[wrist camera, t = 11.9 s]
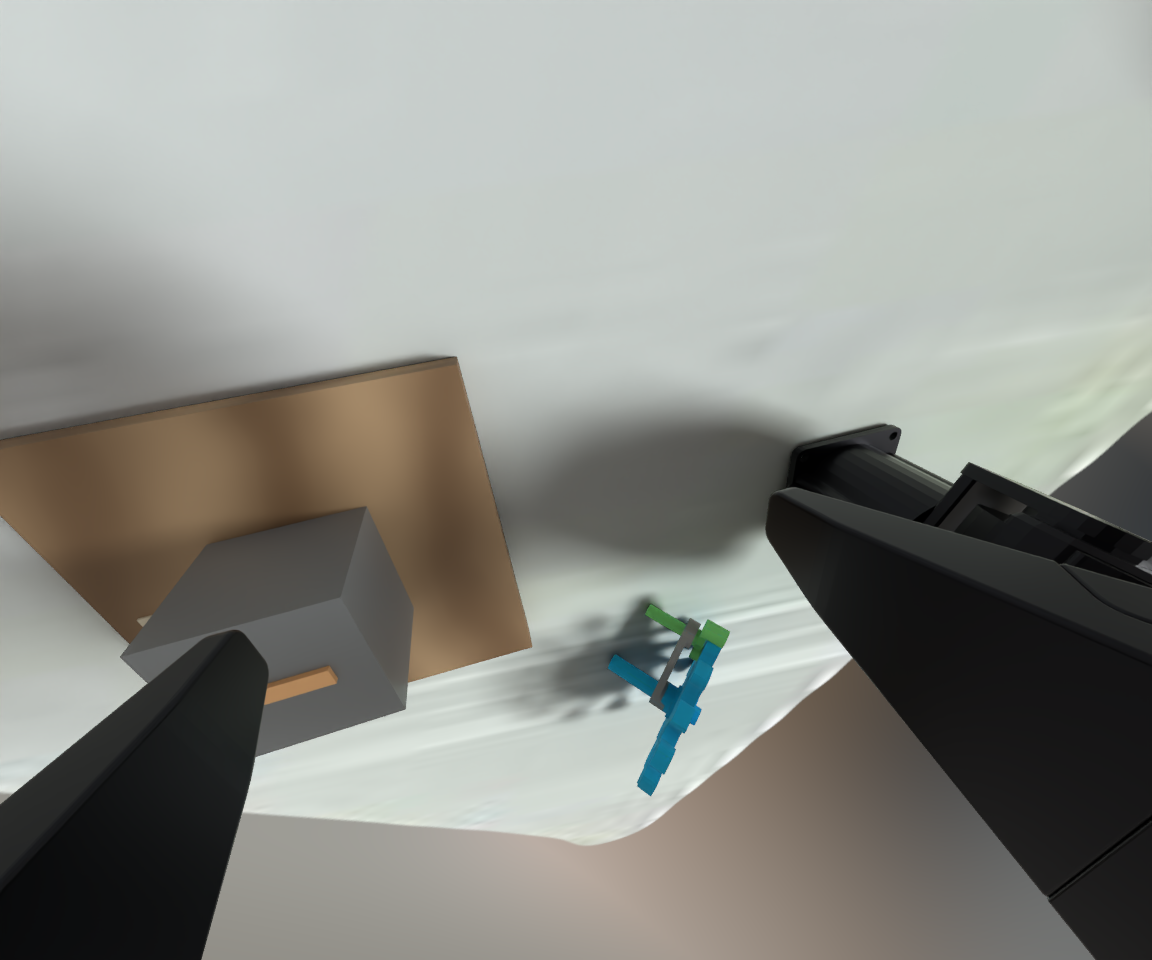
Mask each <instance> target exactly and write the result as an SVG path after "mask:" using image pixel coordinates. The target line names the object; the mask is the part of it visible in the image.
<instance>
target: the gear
mask: <svg viewBox="0 0 1152 960" xmlns="http://www.w3.org/2000/svg"><path fill="white" fill-rule="evenodd" d="M645 615H646V616H648V617H650V618H651V619H653V620H655V621H656V622H658V623H660V624H661V625H663V626H665V627H667V628H668V629H670V630H672V631H673V632H675V633H677V634H678V635H680V636H681V637H680V639H679V641H678V643H677V645H676V647H675V649H674V651H673V653H672V655H671V657H670V659H669V661H668V663H667V665H666V667H665V670H664V672H663V674H662V676H661V678H660V680H659V682H658V681H657V680H655V679H654V678H652V677H651V676H649V675H648V674H646V673H644V672H643V671H641V670H640V669H638V668H637V667H635V666H634V665H632V664H630V663H629V662H627V661H626V660H624V659H623V658H621V657H620V656H618V655H616V654H615V655H614V657H613V658H612V660H611V662H610V664H609V666H608V669H609V670H611V671H612V672H614V673H615V674H617V675H618V676H620V677H621V678H623V679H624V680H626V681H627V682H629V683H630V684H632V685H634V686H635V687H637V688H638V689H640V690H641V691H643V692H644V693H646V694H647V695H649V696H650V697H651V698H650V700H649V702H650V703H651V704H653V705H654V706H656V707H657V708H659V709H660V710H662V711H663V712H665V713H666V715H665V717H666V719H665V721H664V723H663V725H662V727H661V729H660V731H659V733H658V736H657V740H656V742H655V744H654V746H653V748H652V749H651V751H650V753H649V755H648V758H647V760H646V762H645V765H644V769H643V771H642V773H641V775H640V777H639V779H638V781H637V783H638V785H637V786H638V787H639V788H640V789H642V790H643V791H644V792H646V793H647V794H648V795H650V796H651V795H652V794H653V792H654V790H655V788H656V786H657V784H658V782H659V780H660V777H661V774H662V773H663V774H665V772H666V770H667V768H668V766H669V764H670V762H671V760H672V758H673V755H674V753H675V750H676V749H675V748H674V747H675V745H676V743H677V741H678V738H679V737H680V735H681V733H682V732H683V733H685V732H686V730H687V728H688V726H689V724H690V723H691V724H692V725H695V723H696V721H697V719H698V717H699V715H700V712H701V709H700V708H699V707H697V706H696V704H697V702H698V699H699V697H700V695H701V693H702V692H703V690H704V689H705V687H706V685H707V683H708V681H709V679H710V676H711V674H712V671H713V667H712V666H713V664H714V662H715V660H716V658H717V656H718V655H719V652H720V650H721V648H723V646H724V644H725V642H726V640H727V638H728V636H729V633H730V631H728V630H726V629H724V628H723V627H721V626H719V625H717V624H715V623H714V622H712V621H710V620H707V622H706V624H705V626H704V628H703V630H702V631H701V630H699V627H700V625H701V624H700V623H698V622H696V621H694V620H693V619H691V618H690V619H689V621H688V622H687V624H684V623H683V622H681V621H679V620H677V619H676V618H674V617H672V616H670V615H669V614H667V613H665V612H663V611H662V610H660V609H658V608H656V607H655V606H653V605H651V604H650V606H649V608H648V609H647V611H646V614H645ZM691 645H693V646H694V647H693V649H692V651H691V653H690V655H689V657H690V658H691V659H693V660H694V661H693V663H692V665H691V667H690V669H689V671H688V673H687V675H686V676H687V677H686V679H685V681H684V683H683V685H682V686H681V685H680V686H679V688H677V687H676V686H674V685H673V684H671V683H669V682H668V681H667V680H668V678H669V676H670V674H671V672H672V670H673V668H674V666H675V664H676V662H677V660H678V658H679V656H680V654H681V652H682V650H683V648H684V647H685V648H687V649H689V648H690V646H691Z"/></svg>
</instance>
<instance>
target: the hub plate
mask: <svg viewBox="0 0 1152 960" xmlns="http://www.w3.org/2000/svg"><path fill="white" fill-rule="evenodd" d="M365 506H367V508H368V510H369V512H370V514H371V516H372V519H373V521H374V523H375V525H376V527H377V529H378V532H379V534H380V536H381V538H382V540H383V542H384V544H385V547H386V549H387V551H388V553H389V555H390V557H391V560H392V562H393V564H394V566H395V568H396V570H397V572H398V575H399V577H400V579H401V581H402V583H403V585H404V587H405V590H406V592H407V594H408V596H409V598H410V600H411V603H412V605H413V607H414V612H413V624H412V637H411V649H410V661H409V674H408V683H409V682H412V681H416V680H419V679H423V678H426V677H430V676H433V675H437V674H440V673H444V672H447V671H450V670H454V669H457V668H461V667H464V666H468V665H471V664H475V663H478V662H482V661H485V660H489V659H492V658H496V657H499V656H503V655H506V654H510V653H513V652H517V651H520V650H524V649H527V648H531V647H532V643H531V638H530V632H529V628H528V624H527V620H526V617H525V613H524V609H523V605H522V602H521V598H520V594H519V590H518V586H517V583H516V579H515V575H514V571H513V567H512V564H511V560H510V556H509V552H508V549H507V545H506V541H505V537H504V533H503V530H502V526H501V522H500V518H499V514H498V511H497V507H496V503H495V499H494V496H493V492H492V488H491V484H490V480H489V477H488V473H487V469H486V465H485V461H484V458H483V454H482V450H481V446H480V443H479V439H478V435H477V431H476V427H475V424H474V420H473V416H472V412H471V408H470V405H469V401H468V397H467V393H466V390H465V386H464V382H463V378H462V374H461V371H460V367H459V363H458V359H457V357H452V358H447V359H441V360H436V361H430V362H425V363H419V364H414V365H408V366H403V367H397V368H392V369H386V370H381V371H375V372H370V373H364V374H359V375H353V376H348V377H343V378H337V379H332V380H326V381H321V382H315V383H310V384H304V385H299V386H293V387H288V388H282V389H277V390H271V391H266V392H260V393H255V394H249V395H244V396H239V397H233V398H228V399H222V400H217V401H211V402H206V403H200V404H195V405H189V406H184V407H178V408H173V409H167V410H162V411H156V412H151V413H145V414H140V415H135V416H129V417H124V418H118V419H113V420H107V421H102V422H96V423H91V424H85V425H80V426H74V427H69V428H63V429H58V430H52V431H47V432H41V433H36V434H30V435H25V436H20V437H14V438H9V439H3V440H0V516H1V517H2V518H3V519H4V520H5V521H6V522H7V523H8V524H9V525H10V526H11V527H12V528H13V529H14V530H15V531H16V532H17V533H18V534H19V535H20V536H21V537H22V538H23V539H24V540H25V541H26V542H27V543H28V544H29V545H30V546H31V547H32V548H33V549H34V550H35V551H36V552H37V553H38V554H39V555H40V556H41V557H43V558H44V559H45V560H46V561H47V562H48V563H49V564H50V565H51V566H52V567H53V568H54V569H55V570H56V571H57V572H58V573H59V574H60V575H61V576H62V577H63V578H64V579H65V580H66V581H67V582H68V583H69V584H70V585H71V586H72V587H73V588H74V589H75V590H76V591H77V592H78V593H79V594H80V595H81V596H82V597H83V598H84V599H85V600H86V601H87V602H88V603H89V604H90V605H91V606H92V607H93V608H94V609H95V610H96V611H97V612H98V613H99V614H100V615H101V616H102V617H103V618H104V619H105V620H106V621H107V622H108V623H109V624H110V625H111V626H112V627H113V628H114V629H115V630H116V631H117V632H118V633H119V634H120V635H121V636H122V637H123V638H124V639H125V640H126V641H127V642H128V643H129V644H130V643H131V642H132V641H133V639H134V638H135V637H136V636H137V634H138V633H139V632H140V630H141V629H142V628H143V626H144V625H145V624H146V623H147V621H148V620H149V619H150V617H151V616H152V615H153V613H154V612H155V611H156V610H157V608H158V607H159V606H160V604H161V603H162V602H163V600H164V599H165V598H166V597H167V595H168V594H169V593H170V591H171V590H172V589H173V587H174V586H175V585H176V584H177V582H178V581H179V580H180V578H181V577H182V576H183V574H184V573H185V572H186V571H187V569H188V568H189V567H190V565H191V564H192V563H193V561H194V560H195V559H196V558H197V556H198V555H199V554H200V552H201V551H202V550H203V548H204V547H205V546H206V545H207V544H211V543H215V542H220V541H224V540H228V539H232V538H236V537H240V536H244V535H249V534H253V533H257V532H261V531H265V530H269V529H273V528H278V527H282V526H286V525H290V524H294V523H298V522H302V521H307V520H311V519H315V518H319V517H323V516H327V515H331V514H336V513H340V512H344V511H348V510H352V509H356V508H360V507H365Z"/></svg>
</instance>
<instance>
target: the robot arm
mask: <svg viewBox="0 0 1152 960" xmlns="http://www.w3.org/2000/svg"><path fill="white" fill-rule="evenodd" d="M900 436H901V429H900V428H898V427H896V426H893V425H888V426H883V427H879V428H875V429H871V430H867V431H863V432H858V433H854V434H850V435H846V436H842V437H838V438H833V439H829V440H825V441H821V442H817V443H813V444H808V445H804V446H800V447H798V448H797V449H795V450H794V452H793V453H792V456H791V461H790V467H789V474H788V480H787V486H786V489H783V490H779V491H776V492H774V493H772V494H771V496H770V498H769V504H768V512H767V519H766V526H765V530H766V535H767V538H768V540H769V542H770V543H771V545H772V546H773V548H774V550H775V551H776V553H777V554H778V556H779V557H780V559H781V560H782V562H783V563H784V565H785V566H786V568H787V569H788V571H789V573H790V574H791V576H792V577H793V579H794V580H795V582H796V583H797V585H798V586H799V588H800V589H801V591H802V592H803V594H804V595H805V597H806V598H807V600H808V601H809V603H810V604H811V606H812V607H813V608H814V610H815V611H816V612H817V614H818V615H819V616H820V618H821V619H822V620H823V622H824V623H825V624H826V625H827V626H828V628H829V629H830V630H831V631H832V633H833V634H834V635H835V636H836V638H837V639H838V640H839V641H840V643H841V644H842V645H843V646H844V648H845V649H846V650H847V651H848V653H849V654H850V655H851V656H852V657H853V659H854V660H855V661H856V662H857V664H858V665H859V666H860V667H861V669H862V670H863V671H864V672H865V674H866V675H867V676H868V677H869V679H870V680H871V681H872V682H873V684H874V685H875V686H876V687H877V688H878V690H879V691H880V692H881V693H882V695H883V696H884V697H885V698H886V700H887V701H888V702H889V703H890V705H891V706H892V707H893V708H894V710H895V711H896V712H897V713H898V715H899V716H900V717H901V718H902V720H903V721H904V722H905V723H906V725H907V726H908V727H909V728H910V729H911V731H912V732H913V733H914V734H915V736H916V737H917V738H918V739H919V741H920V742H921V743H922V744H923V746H924V747H925V748H926V749H927V751H928V752H929V753H930V754H931V755H932V757H933V758H934V759H935V761H936V762H937V763H938V764H939V765H940V767H941V768H942V769H943V770H944V771H945V773H946V774H947V775H948V777H949V778H950V779H951V780H952V782H953V783H954V784H955V785H956V787H957V788H958V789H959V790H960V791H961V793H962V794H963V795H964V796H965V798H966V799H967V800H968V801H969V803H970V804H971V805H972V806H973V808H974V809H975V810H976V811H977V813H978V814H979V815H980V816H981V817H982V819H983V820H984V821H985V823H986V824H987V825H988V826H989V828H990V829H991V830H992V831H993V832H994V834H995V835H996V836H997V837H998V839H999V840H1000V841H1001V842H1002V844H1003V845H1004V846H1005V847H1006V849H1007V850H1008V851H1009V852H1010V854H1011V855H1012V856H1013V857H1014V859H1015V860H1016V861H1017V862H1018V863H1019V865H1020V866H1021V867H1022V868H1023V870H1024V871H1025V872H1026V873H1027V875H1028V876H1029V877H1030V878H1031V880H1032V881H1033V882H1034V883H1035V885H1036V886H1037V887H1038V888H1039V890H1040V891H1041V892H1042V893H1043V894H1044V895H1045V896H1047V899H1048V901H1049V903H1050V904H1051V905H1052V906H1053V907H1054V909H1055V910H1056V911H1057V913H1058V914H1059V915H1060V916H1061V918H1062V919H1063V920H1064V921H1065V922H1066V924H1067V925H1068V926H1069V927H1070V929H1071V930H1072V931H1073V932H1074V934H1075V935H1076V936H1077V937H1078V938H1079V940H1080V941H1081V942H1082V943H1083V945H1084V946H1085V947H1086V949H1087V950H1088V951H1089V952H1090V953H1091V955H1092V956H1093V957H1094V958H1095V960H1152V542H1151V541H1148V540H1146V539H1144V538H1142V537H1140V536H1138V535H1135V534H1133V533H1131V532H1129V531H1127V530H1124V529H1122V528H1120V527H1117V526H1116V525H1113V524H1111V523H1109V522H1107V521H1105V520H1103V519H1100V518H1098V517H1096V516H1094V515H1091V514H1089V513H1087V512H1085V511H1083V510H1080V509H1078V508H1076V507H1074V506H1071V505H1069V504H1067V503H1064V502H1062V501H1060V500H1058V499H1055V498H1053V497H1051V496H1048V495H1046V494H1044V493H1042V492H1039V491H1037V490H1035V489H1032V488H1030V487H1028V486H1025V485H1023V484H1021V483H1018V482H1016V481H1013V480H1011V479H1009V478H1006V477H1004V476H1001V475H999V474H997V473H994V472H992V471H989V470H987V469H984V468H982V467H980V466H977V465H975V464H972V463H970V462H968V464H967V465H966V466H965V467H964V468H963V470H962V471H961V472H960V473H962V475H961V476H960V477H959V478H958V480H957V481H956V482H955V483H954V484H953V483H951V482H949V481H947V480H945V479H943V478H941V477H939V476H937V475H935V474H933V473H931V472H929V471H927V470H925V469H923V468H921V467H919V466H917V465H915V464H913V463H911V462H909V461H907V460H905V459H903V458H901V457H899V456H897V455H895V453H896V449H897V446H898V443H899V439H900ZM802 455H803V456H802ZM801 456H802V457H801ZM268 679H269V669H268V665H267V663H266V661H265V659H264V658H263V657H262V655H261V654H260V653H259V652H258V650H257V649H256V648H255V646H254V645H253V644H252V643H251V641H250V640H249V639H248V637H247V636H246V635H245V634H244V633H243V632H241V631H239V630H229V631H225V632H221V633H217V634H213V635H210V636H207V637H205V638H203V639H202V640H200V641H199V642H198V643H197V644H196V645H194V646H193V647H192V648H191V649H189V650H188V651H187V652H186V653H185V654H183V655H182V656H181V657H180V658H178V659H177V660H176V661H175V662H174V663H172V664H171V665H170V666H169V667H167V668H166V669H165V670H164V671H163V672H161V673H160V674H159V675H158V676H156V677H155V678H154V679H153V680H152V681H150V682H149V683H148V684H147V685H145V686H144V687H143V688H142V689H141V690H139V691H138V692H137V693H136V694H134V695H133V696H132V697H131V698H130V699H128V700H127V701H126V702H125V703H123V704H122V705H121V706H120V707H119V708H117V709H116V710H115V711H114V712H112V713H111V714H110V715H109V716H108V717H106V718H105V719H104V720H103V721H101V722H100V723H99V724H98V725H97V726H95V727H94V728H93V729H92V730H90V731H89V732H88V733H87V734H86V735H84V736H83V737H82V738H81V739H79V740H78V741H77V742H76V743H75V744H73V745H72V746H71V747H70V748H68V749H67V750H66V751H65V752H64V753H62V754H61V755H60V756H59V757H57V758H56V759H55V760H54V761H53V762H51V763H50V764H49V765H48V766H46V767H45V768H44V769H43V770H42V771H40V772H39V773H38V774H37V775H35V776H34V777H33V778H32V779H31V780H29V781H28V782H27V783H26V784H24V785H23V786H22V787H21V788H20V789H18V790H17V791H16V792H15V793H13V794H12V795H11V796H10V797H9V798H7V799H6V800H5V801H4V802H3V803H1V804H0V960H201V959H202V955H203V951H204V948H205V945H206V941H207V937H208V934H209V930H210V927H211V923H212V919H213V915H214V912H215V909H216V905H217V901H218V898H219V894H220V891H221V886H222V883H223V880H224V876H225V872H226V869H227V865H228V861H229V858H230V855H231V851H232V847H233V844H234V840H235V837H236V833H237V829H238V826H239V822H240V818H241V815H242V811H243V808H244V804H245V801H246V797H247V793H248V789H249V785H250V781H251V776H252V772H253V767H254V762H255V756H256V750H257V744H258V738H259V732H260V727H261V721H262V715H263V709H264V703H265V697H266V691H267V685H268Z"/></svg>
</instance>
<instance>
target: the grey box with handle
mask: <svg viewBox="0 0 1152 960" xmlns="http://www.w3.org/2000/svg"><path fill="white" fill-rule="evenodd" d="M413 612H414V607H413V605H412V603H411V600H410V598H409V596H408V594H407V592H406V590H405V587H404V585H403V583H402V581H401V579H400V577H399V575H398V572H397V570H396V568H395V566H394V564H393V562H392V560H391V557H390V555H389V553H388V551H387V549H386V547H385V544H384V542H383V540H382V538H381V536H380V534H379V532H378V529H377V527H376V525H375V523H374V521H373V519H372V516H371V514H370V512H369V510H368V508H367V506H365V507H360V508H356V509H352V510H348V511H344V512H340V513H336V514H331V515H327V516H323V517H319V518H315V519H311V520H307V521H302V522H298V523H294V524H290V525H286V526H282V527H278V528H273V529H269V530H265V531H261V532H257V533H253V534H249V535H244V536H240V537H236V538H232V539H228V540H224V541H220V542H215V543H211V544H207V545H206V546H205V547H204V548H203V550H202V551H201V552H200V554H199V555H198V556H197V558H196V559H195V560H194V561H193V563H192V564H191V565H190V567H189V568H188V569H187V571H186V572H185V573H184V574H183V576H182V577H181V578H180V580H179V581H178V582H177V584H176V585H175V586H174V587H173V589H172V590H171V591H170V593H169V594H168V595H167V597H166V598H165V599H164V600H163V602H162V603H161V604H160V606H159V607H158V608H157V610H156V611H155V612H154V613H153V615H152V616H151V617H150V619H149V620H148V621H147V623H146V624H145V625H144V626H143V628H142V629H141V630H140V632H139V633H138V634H137V636H136V637H135V638H134V639H133V641H132V642H131V643H130V645H129V646H128V647H127V649H126V650H125V651H124V652H123V654H122V655H121V656H120V658H121V659H122V660H123V661H124V662H126V663H127V664H128V665H129V666H130V667H131V668H132V669H133V670H134V671H135V672H136V673H137V674H138V675H139V676H140V677H142V678H143V679H144V680H145V681H146V682H147V683H149V682H150V681H152V680H153V679H154V678H155V677H156V676H158V675H159V674H160V673H161V672H163V671H164V670H165V669H166V668H167V667H169V666H170V665H171V664H172V663H174V662H175V661H176V660H177V659H178V658H180V657H181V656H182V655H183V654H185V653H186V652H187V651H188V650H189V649H191V648H192V647H193V646H194V645H196V644H197V643H198V642H199V641H200V640H202V639H203V638H205V637H207V636H210V635H213V634H217V633H221V632H225V631H229V630H239V631H241V632H243V633H244V634H245V635H246V636H247V637H248V639H249V640H250V641H251V643H252V644H253V645H254V646H255V648H256V649H257V650H258V652H259V653H260V654H261V655H262V657H263V658H264V659H265V661H266V663H267V665H268V669H269V679H268V685H267V691H266V697H265V703H264V709H263V715H262V721H261V727H260V732H259V738H258V744H257V750H256V756H255V757H257V756H260V755H263V754H267V753H270V752H273V751H276V750H279V749H282V748H285V747H289V746H292V745H295V744H298V743H301V742H304V741H307V740H311V739H314V738H317V737H320V736H323V735H326V734H330V733H333V732H336V731H339V730H342V729H345V728H348V727H352V726H355V725H358V724H361V723H364V722H367V721H370V720H374V719H377V718H380V717H383V716H386V715H389V714H393V713H396V712H399V711H402V710H405V709H406V699H407V686H408V674H409V661H410V649H411V637H412V624H413Z"/></svg>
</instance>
